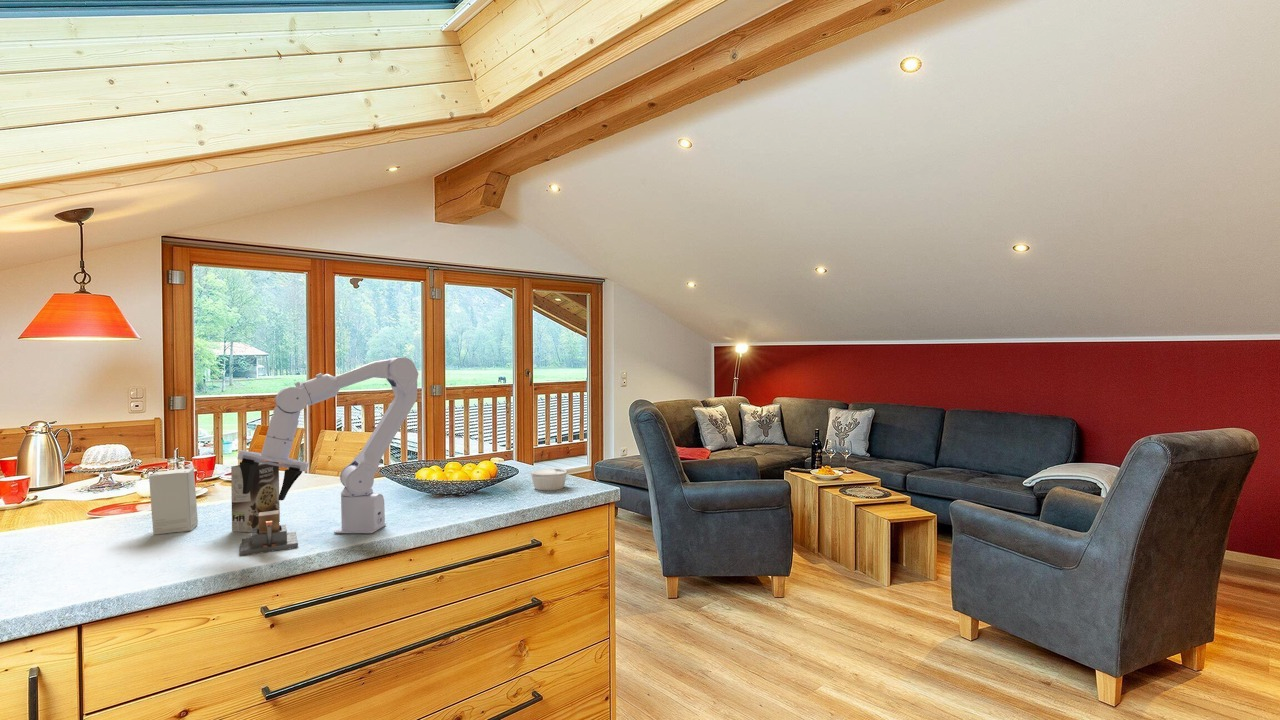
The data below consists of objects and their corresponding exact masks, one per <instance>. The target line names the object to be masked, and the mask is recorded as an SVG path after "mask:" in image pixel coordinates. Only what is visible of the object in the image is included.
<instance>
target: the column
mask: <svg viewBox="0 0 1280 720" xmlns="http://www.w3.org/2000/svg"><path fill="white" fill-rule="evenodd" d="M266 521H272V525H271V532H276V531H280V527H279V525H280V523H279V510H276V511H267V512H259V534H260V533H267V526H266Z"/></svg>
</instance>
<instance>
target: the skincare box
mask: <svg viewBox="0 0 1280 720" xmlns="http://www.w3.org/2000/svg"><path fill="white" fill-rule="evenodd" d="M194 468H195V467H194ZM194 468H193V467H192V468H191V467H190V468H181V469H172V470H163V471H162V470H161V471H159V470H158V471H155V472H154V473H152V474H151V475H149V476H148V479H149V480H148V481H149V492H150V493H149V494H150V495H149V496H150V506H151V507H150V508H151V519H152V520H151V521H152V534H153V535H162V534H164V535H165V534H171V533H181V532H189V531H190V532H191V531H192V530H193V529H195V528H196V527H198V525H199V519H198V506H197V505H198V504H197V491H196V490H197V489H196V478H195V469H194Z"/></svg>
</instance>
